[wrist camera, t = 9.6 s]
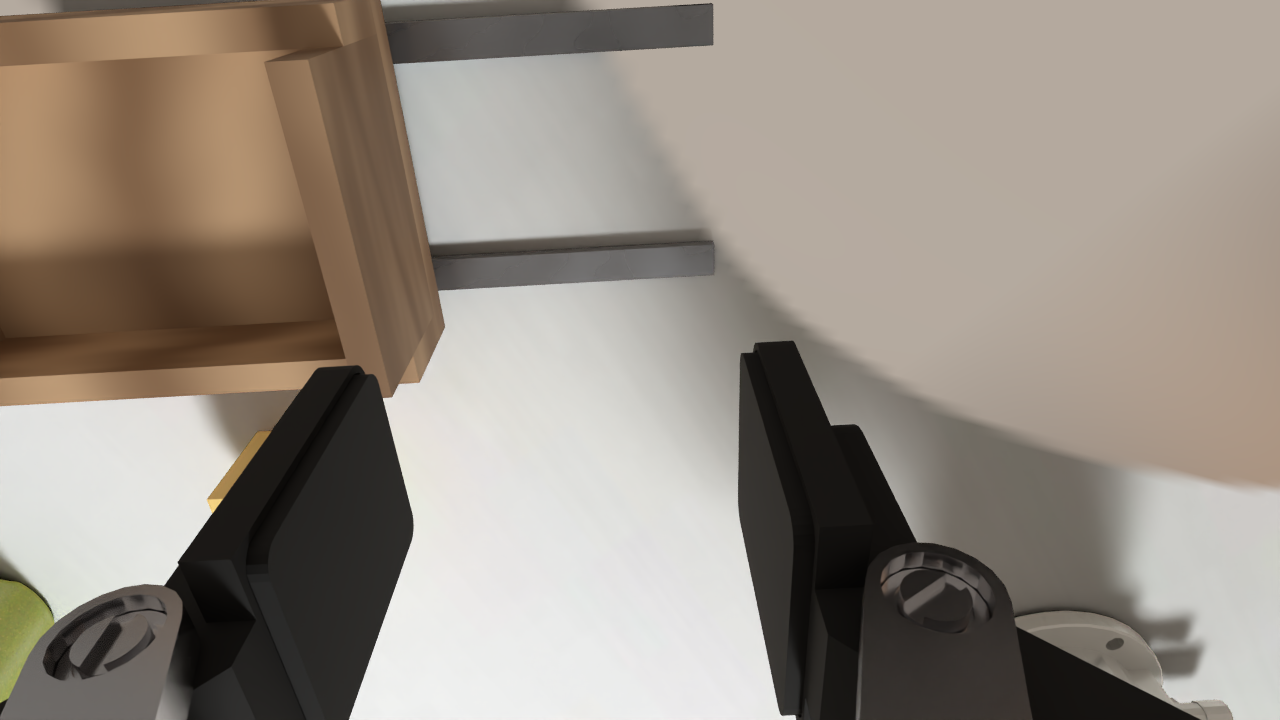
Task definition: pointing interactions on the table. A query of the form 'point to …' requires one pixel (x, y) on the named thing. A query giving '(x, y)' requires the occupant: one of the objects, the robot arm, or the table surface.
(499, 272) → the rail
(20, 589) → the plant pot
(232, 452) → the table surface
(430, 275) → the wooden crate
